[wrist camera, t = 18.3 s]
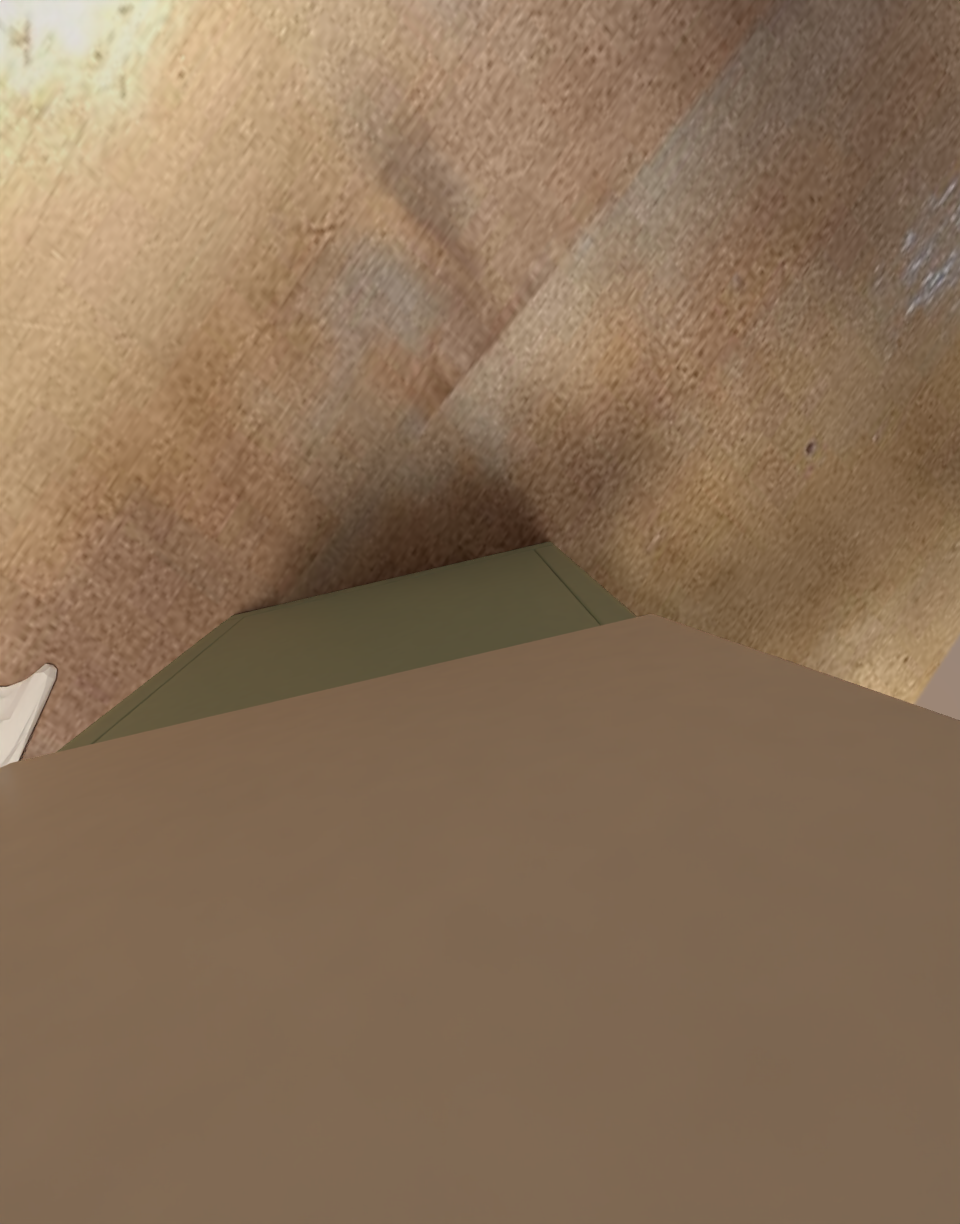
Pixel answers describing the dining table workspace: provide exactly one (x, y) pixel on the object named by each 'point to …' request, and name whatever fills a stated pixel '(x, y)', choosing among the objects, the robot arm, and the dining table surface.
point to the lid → (493, 951)
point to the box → (366, 636)
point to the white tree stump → (22, 711)
